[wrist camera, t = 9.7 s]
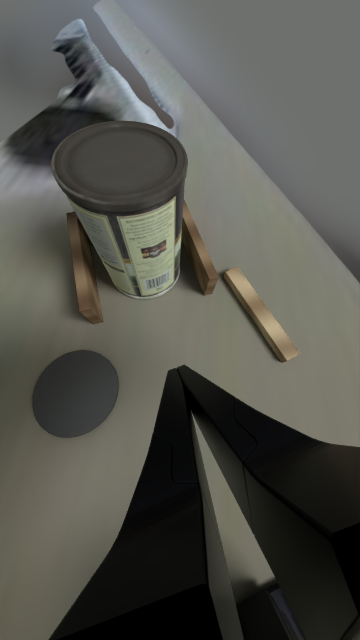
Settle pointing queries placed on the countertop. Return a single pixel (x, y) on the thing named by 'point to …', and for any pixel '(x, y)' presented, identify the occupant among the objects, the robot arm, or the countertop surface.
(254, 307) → the oak stirring stick
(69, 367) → the mat
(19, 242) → the countertop surface
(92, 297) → the walnut cubby
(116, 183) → the coffee can
